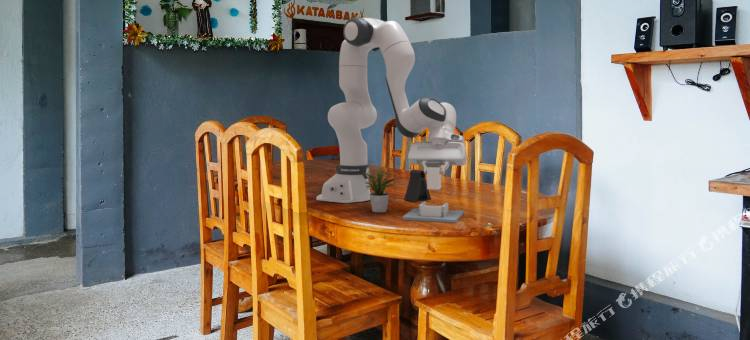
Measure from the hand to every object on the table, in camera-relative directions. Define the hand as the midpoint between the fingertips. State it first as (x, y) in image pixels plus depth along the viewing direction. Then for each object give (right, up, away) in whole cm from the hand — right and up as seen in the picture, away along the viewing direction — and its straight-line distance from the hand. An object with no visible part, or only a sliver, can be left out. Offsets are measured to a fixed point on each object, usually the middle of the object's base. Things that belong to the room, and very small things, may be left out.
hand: (434, 173), depth 192 cm
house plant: (-19, -14, +12) cm, 26 cm away
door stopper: (-3, -11, +34) cm, 35 cm away
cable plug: (0, -5, +1) cm, 5 cm away
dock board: (0, -15, +2) cm, 15 cm away
